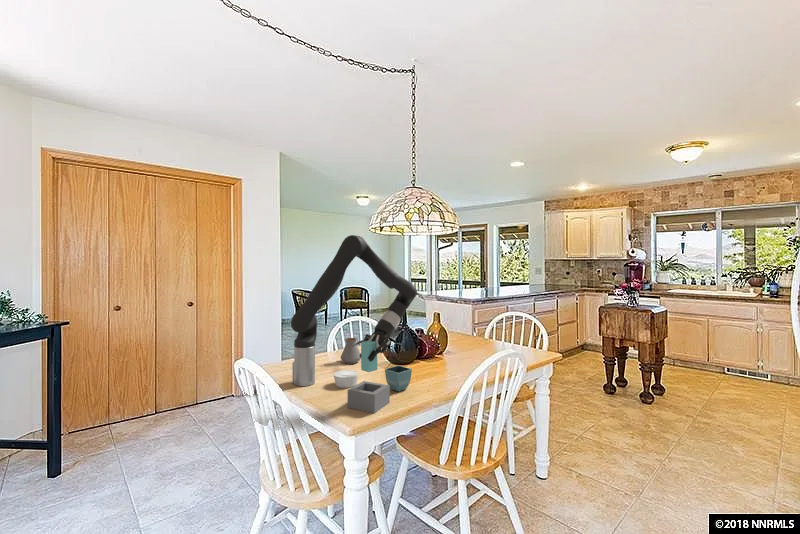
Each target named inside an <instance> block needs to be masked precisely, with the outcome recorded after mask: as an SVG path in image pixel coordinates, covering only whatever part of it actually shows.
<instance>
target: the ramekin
mask: <svg viewBox="0 0 800 534" xmlns="http://www.w3.org/2000/svg"><path fill="white" fill-rule="evenodd" d="M358 378H359V372H358V371H356V370H354V369H352V370H351V369H343V370H337V371H335V372H334V373H333V379H334V382H335V385H336V387H337V388H340V389H341V388H342V389H346V388H348V389H350V388H352V387H354V386H355V385H357V383H358Z"/></svg>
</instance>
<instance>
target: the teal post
mask: <svg viewBox="0 0 800 534" xmlns="http://www.w3.org/2000/svg"><path fill="white" fill-rule="evenodd" d="M375 344H376V342H375V341H364V342H361V343H360V353H361V359H360V368H361V371H363V372H367V373H371V372H375V371H378V354H377V355H376V357H375V358H374V360H373V361H372V362H371V361H369V360H368V357H369V355H370V354H371V352H372V351H374V350H373V349H374V347H375Z"/></svg>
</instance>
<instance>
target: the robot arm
mask: <svg viewBox="0 0 800 534" xmlns="http://www.w3.org/2000/svg"><path fill="white" fill-rule="evenodd" d="M356 257H357V258H358V259H359V260H361V261H362V262H364V263H365V264H366V265H367V266H368V267H369V268H370V270H371V271H372V272H373V274H374V275H375V276H376V277H377V279H379V280H380V281H381V282H382V283H383V284H384V285H385V286H386V287H387V288H388V289H390V290H392V289H394V290H396V291H398V293H397V294H396V296H395V299H393V302H391V303H390V305H389V306H388V308H387V309H386V311H385V312H384V313H383V314H382V316H381V317H380V318H379V320H378V322H377V324H376V325H375V326H374V331H373V333H371V334H368V333H367V334H365V336H364V338H363V340H364V341H375V342H376V344H375V347H374V349H373V350H374V351H372V352H371V354H370V355H369V357H368V360H369V361H371V362H372V361H373V360H374V358H375V357H376V355H377V356H378V355H379V354H383V353H384V352H385V351H386V350H387V349H388V348H389V347H390V345H392V341H391V340H390V338H392V336H393V334H394V332H395V331H396V329H397V328H398V327H399V324H400V322H401V320H402V319H403V318H404V315H405V314H406V311H407V309H408V308H409V307H410V305H411V304H412V302H413V301H414V300H415V298H416V296H417V294H418V290H417V287H416V286H415V285H414V283H412V282H411V281H410V280H408V279H406V278H404V277H402V276H400V275H399V274H398V272H396V271H395V270H394V269H393V268H391V267H390V265H388V264H387V263H386V262H385V261H384V260H383V259H382V258H381V257H379V255H378V254H377V253H376V252H375V251H374V250H373V248H371V246H370V245H369V244H368V242H367V241H366V240H365V239H364V237H362V236H360V235H356V234H355V235H354V234H351V235H347V237H345V238H344V239H343V240H342V242H341V244H340V246H339V248H338V250H337V252H336V253H335V255H334V258H333V259H332V261H330V263H329V265H328V266H327V268H326V269H325V271H323V273H322V275H321V276H320V277H319V278H318V280H317V281H316V284H315V285H314V287H313V288H312V290H311V291H310V293H309V294H308V296H307V298H306V299H305V301H304V302H303V303H302V305H301V306H300V307H299V308H298V310H297V311H296V312H295V313H294V314H293V316H292V318H291V320H290V325H291V328H292V330H293V331H294V332H295V333H297V336H296V337H295V339H294V342H293V352H294V353H293V358H294V359H293V362H292V365H291V366H292V369H291V370H292V381H291V383H292V384H293V383H294V385H295V386H298V387H307V386H308V387H309V386H312V385H314V384H315V383H316V372H315V371H316V351H315V350H316V349H315V348H316V345H315V344H316V341H317V334H318V332H317V331H318V330H317V329H318V320H317V315H316V314H317V313H318V312H319V310H320V309H321V308H322V307H324V305H325V304H327V302H329V300H331V298H332V297H333V296H334V295H335V294H336V292H337V291H338V289H339V287H340V286H341V284H342V282H343V280H344V277H345V273H346V271H347V268H348V267H349V266H350V264H351V263H352V262H353V260H354V259H355V258H356ZM364 341H363V342H364ZM360 358H361V352H360Z"/></svg>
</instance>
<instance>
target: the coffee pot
mask: <svg viewBox="0 0 800 534" xmlns="http://www.w3.org/2000/svg"><path fill="white" fill-rule="evenodd" d="M357 340H358V339H357V338H355V337H346V338H345V339H344V341H345V342H346V343H345V346H344V347H343V350H342V352H341V355H340V360H341V361H342V362H343V363H344V364H346V363H347V364H348V365H352V363H354V364H358V363H359V361H361V358H360V353H361V351H360V349H359V348H358V345H361V342H363V341H364V339H362V340H361V339H360V341H358V342H357Z"/></svg>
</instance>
